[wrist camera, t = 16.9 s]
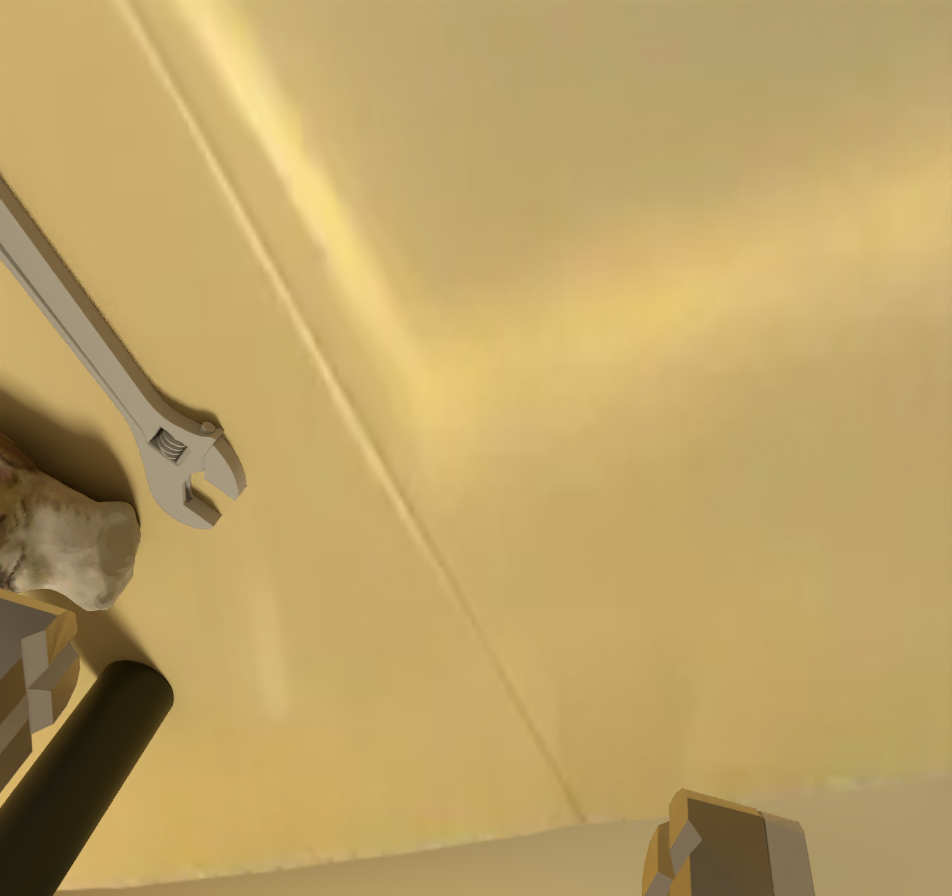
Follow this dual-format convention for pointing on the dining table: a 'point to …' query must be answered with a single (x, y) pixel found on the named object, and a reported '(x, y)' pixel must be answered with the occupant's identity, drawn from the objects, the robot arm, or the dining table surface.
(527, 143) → the dining table surface
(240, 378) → the dining table surface
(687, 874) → the robot arm
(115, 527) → the ceramic sculpture
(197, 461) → the adjustable wrench
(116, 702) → the wine bottle
